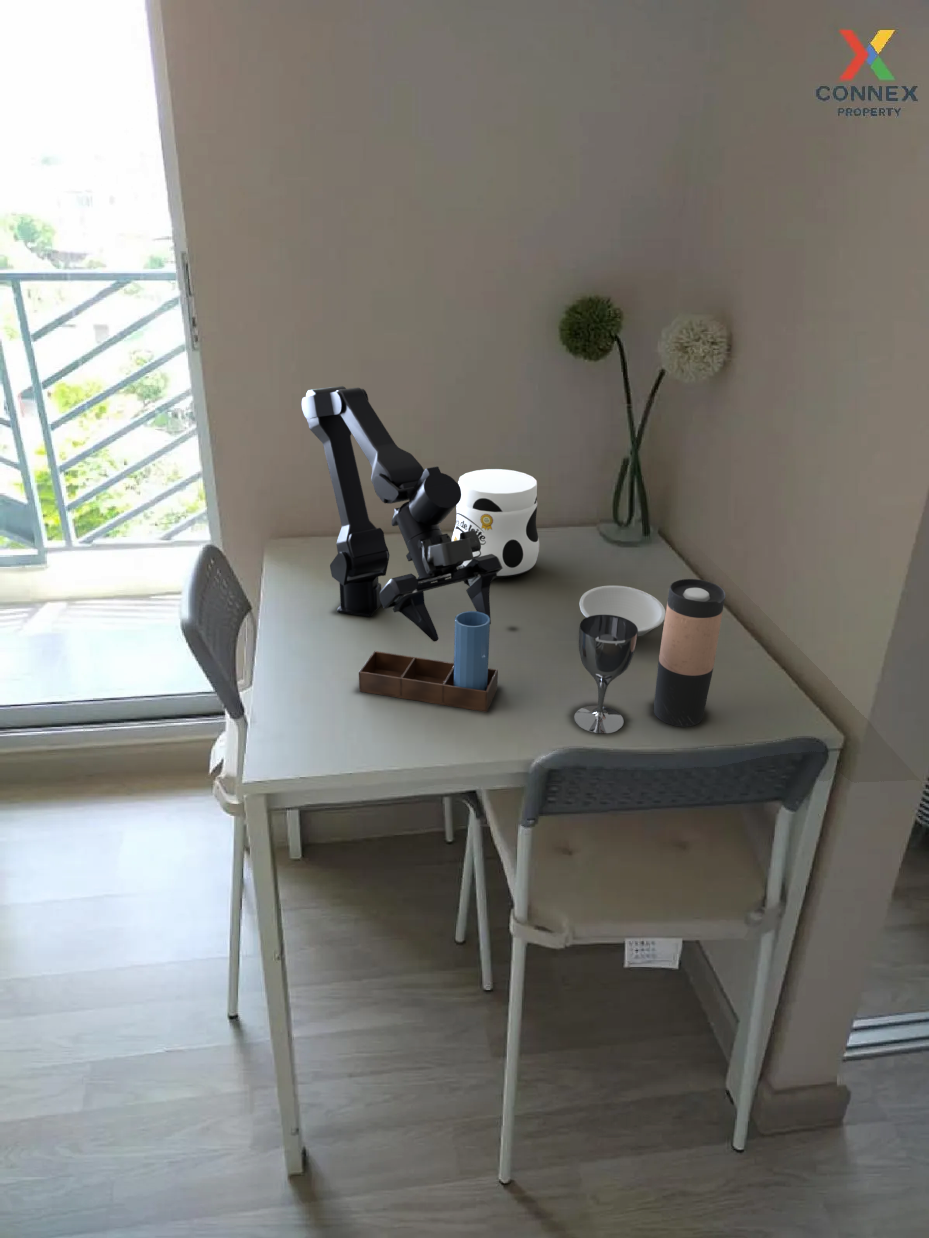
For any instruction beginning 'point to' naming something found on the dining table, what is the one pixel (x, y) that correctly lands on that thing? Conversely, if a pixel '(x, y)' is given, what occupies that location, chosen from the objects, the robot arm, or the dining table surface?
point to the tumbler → (471, 650)
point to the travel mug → (688, 651)
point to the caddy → (422, 681)
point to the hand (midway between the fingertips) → (462, 632)
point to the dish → (624, 606)
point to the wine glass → (604, 665)
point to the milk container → (500, 517)
